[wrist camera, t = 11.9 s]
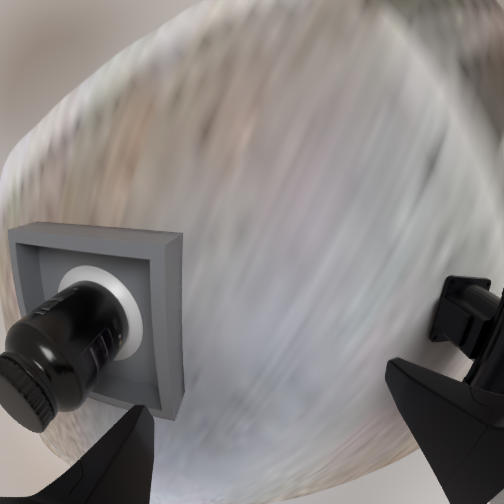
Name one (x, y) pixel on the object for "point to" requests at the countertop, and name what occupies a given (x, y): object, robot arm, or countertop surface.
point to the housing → (126, 291)
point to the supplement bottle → (60, 353)
